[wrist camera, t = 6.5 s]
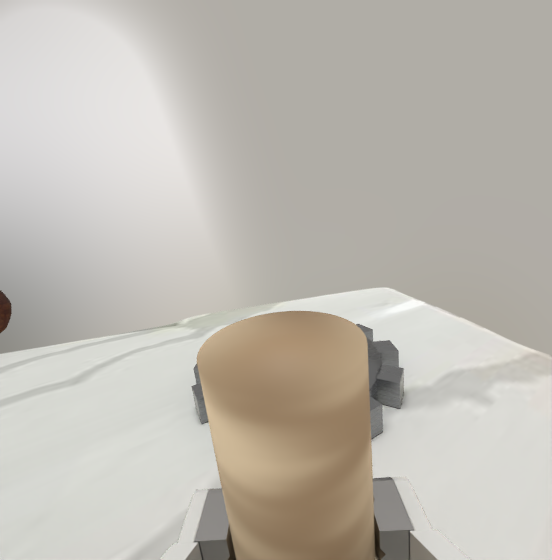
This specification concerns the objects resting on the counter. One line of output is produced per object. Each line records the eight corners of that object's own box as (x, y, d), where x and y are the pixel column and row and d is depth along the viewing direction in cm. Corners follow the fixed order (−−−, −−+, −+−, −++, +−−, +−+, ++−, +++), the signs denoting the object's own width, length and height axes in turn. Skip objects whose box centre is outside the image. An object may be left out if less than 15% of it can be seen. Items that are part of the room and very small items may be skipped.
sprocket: (157, 470, 20) (147, 433, 19) (222, 339, 41) (218, 319, 40) (456, 449, 19) (458, 409, 18) (364, 326, 40) (363, 305, 39)
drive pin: (258, 791, 8) (165, 402, 5) (266, 595, 13) (219, 317, 9) (402, 791, 8) (398, 382, 5) (361, 591, 12) (345, 305, 9)
